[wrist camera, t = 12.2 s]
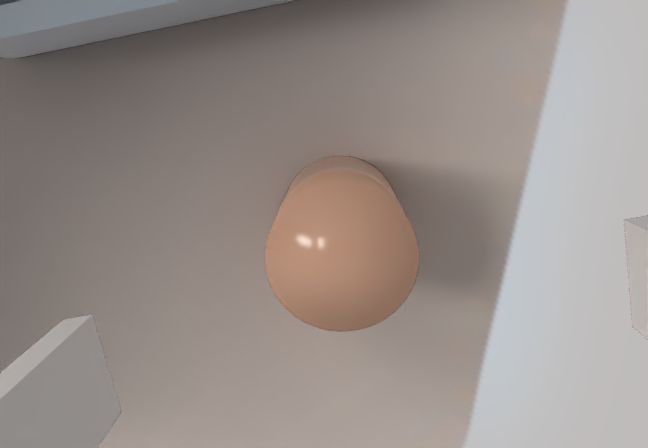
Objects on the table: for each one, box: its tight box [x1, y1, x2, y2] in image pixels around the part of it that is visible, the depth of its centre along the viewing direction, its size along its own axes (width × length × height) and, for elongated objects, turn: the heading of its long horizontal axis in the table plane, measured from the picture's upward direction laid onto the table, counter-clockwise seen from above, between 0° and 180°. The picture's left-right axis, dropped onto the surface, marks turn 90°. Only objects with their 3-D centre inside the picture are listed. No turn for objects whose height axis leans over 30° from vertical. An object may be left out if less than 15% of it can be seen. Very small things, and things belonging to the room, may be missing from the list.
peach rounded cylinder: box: [265, 156, 419, 331], centre depth 22 cm, size 5×5×7 cm
